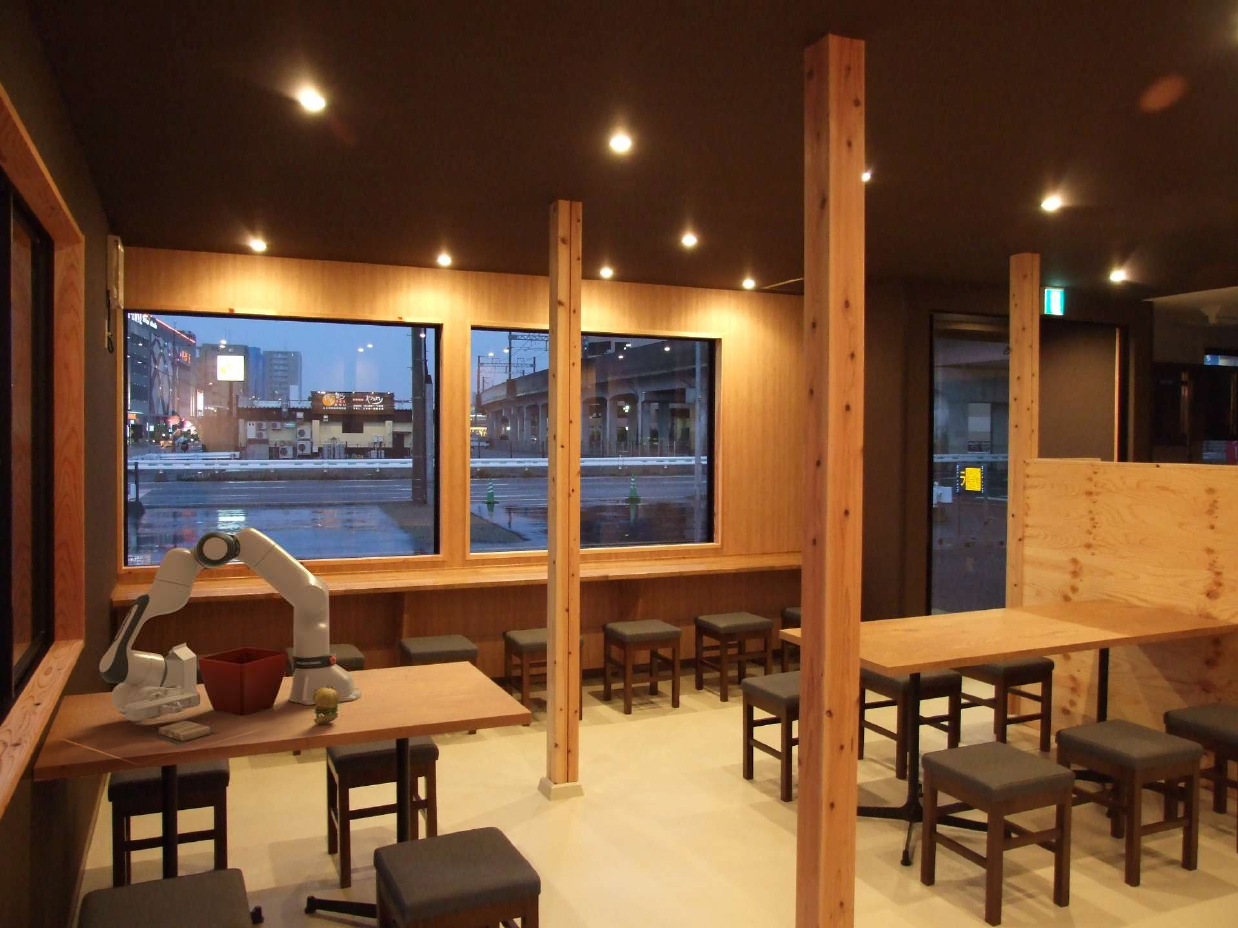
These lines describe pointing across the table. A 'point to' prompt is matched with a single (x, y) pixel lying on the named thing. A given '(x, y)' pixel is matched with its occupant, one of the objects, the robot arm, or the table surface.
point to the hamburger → (326, 705)
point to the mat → (173, 740)
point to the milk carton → (181, 668)
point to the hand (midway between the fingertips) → (178, 709)
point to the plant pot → (243, 679)
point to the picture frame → (184, 730)
